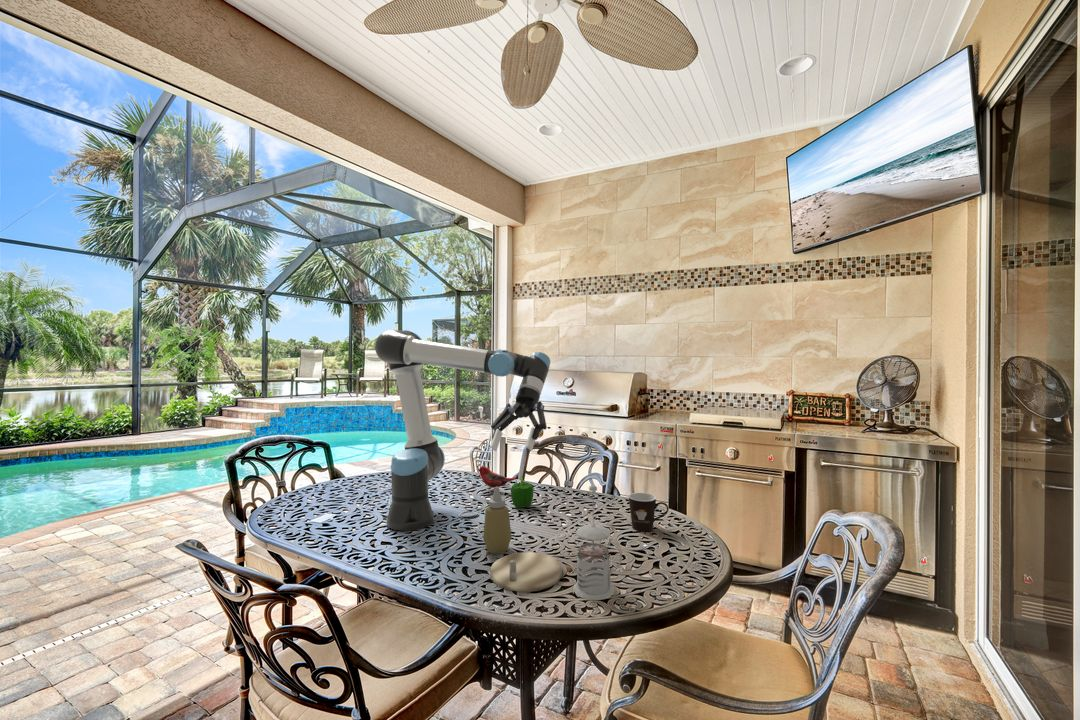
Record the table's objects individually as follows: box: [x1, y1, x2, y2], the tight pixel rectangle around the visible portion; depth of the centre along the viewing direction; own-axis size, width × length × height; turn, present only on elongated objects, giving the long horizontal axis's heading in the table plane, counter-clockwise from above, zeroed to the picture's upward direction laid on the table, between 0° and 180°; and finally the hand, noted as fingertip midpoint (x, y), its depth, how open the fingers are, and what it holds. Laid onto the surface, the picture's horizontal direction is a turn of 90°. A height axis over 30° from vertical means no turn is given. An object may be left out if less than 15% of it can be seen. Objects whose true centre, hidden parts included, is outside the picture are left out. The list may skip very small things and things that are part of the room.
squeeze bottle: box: [482, 487, 512, 555], centre depth 135 cm, size 8×8×18 cm
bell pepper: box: [510, 477, 534, 509], centre depth 172 cm, size 8×8×10 cm
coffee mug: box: [628, 492, 669, 533], centre depth 149 cm, size 12×9×10 cm
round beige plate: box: [490, 551, 563, 593], centre depth 121 cm, size 18×18×6 cm
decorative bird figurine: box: [477, 465, 519, 492], centre depth 189 cm, size 3×18×10 cm, turn 75°
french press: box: [572, 484, 623, 601], centre depth 112 cm, size 10×12×25 cm
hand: (510, 448), depth 146 cm, fingers open, 13 cm apart
